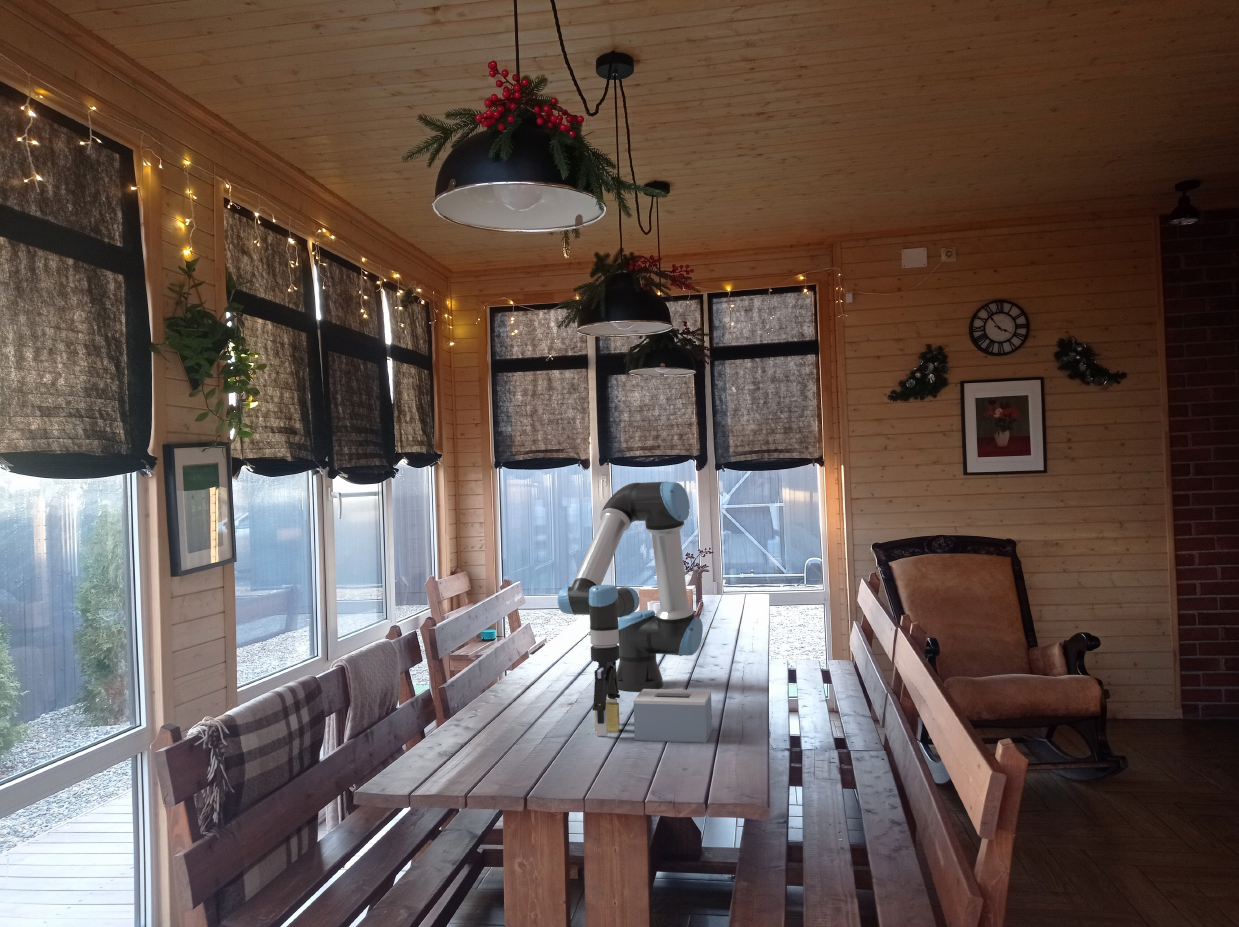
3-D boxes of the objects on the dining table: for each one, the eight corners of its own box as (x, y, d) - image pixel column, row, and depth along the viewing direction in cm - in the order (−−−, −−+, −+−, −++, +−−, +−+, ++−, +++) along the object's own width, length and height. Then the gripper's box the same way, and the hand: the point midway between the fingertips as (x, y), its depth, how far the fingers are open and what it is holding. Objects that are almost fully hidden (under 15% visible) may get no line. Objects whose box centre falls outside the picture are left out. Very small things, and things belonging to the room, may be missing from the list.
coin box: (644, 726, 242) (643, 688, 242) (712, 729, 238) (711, 690, 238) (634, 740, 230) (633, 700, 230) (706, 742, 226) (704, 702, 226)
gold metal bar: (597, 728, 242) (596, 702, 242) (619, 729, 240) (618, 702, 240) (595, 731, 239) (594, 704, 239) (617, 732, 238) (616, 705, 238)
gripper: (601, 636, 252) (604, 717, 252) (579, 653, 230) (581, 741, 229) (628, 637, 250) (630, 718, 250) (608, 653, 228) (610, 742, 228)
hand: (607, 729), depth 240 cm, fingers open, 11 cm apart
